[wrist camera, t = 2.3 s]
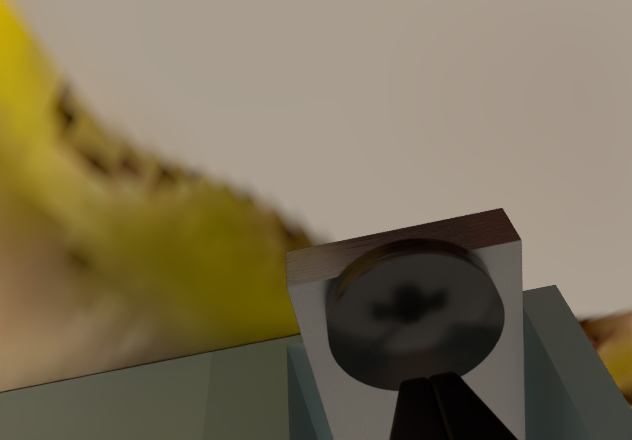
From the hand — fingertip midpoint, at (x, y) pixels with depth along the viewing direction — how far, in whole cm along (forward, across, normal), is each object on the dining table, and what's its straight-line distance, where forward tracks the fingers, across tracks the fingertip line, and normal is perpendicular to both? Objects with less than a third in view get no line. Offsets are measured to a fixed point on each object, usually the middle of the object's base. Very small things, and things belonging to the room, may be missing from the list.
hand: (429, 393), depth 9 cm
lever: (+3, 0, +8) cm, 8 cm away
